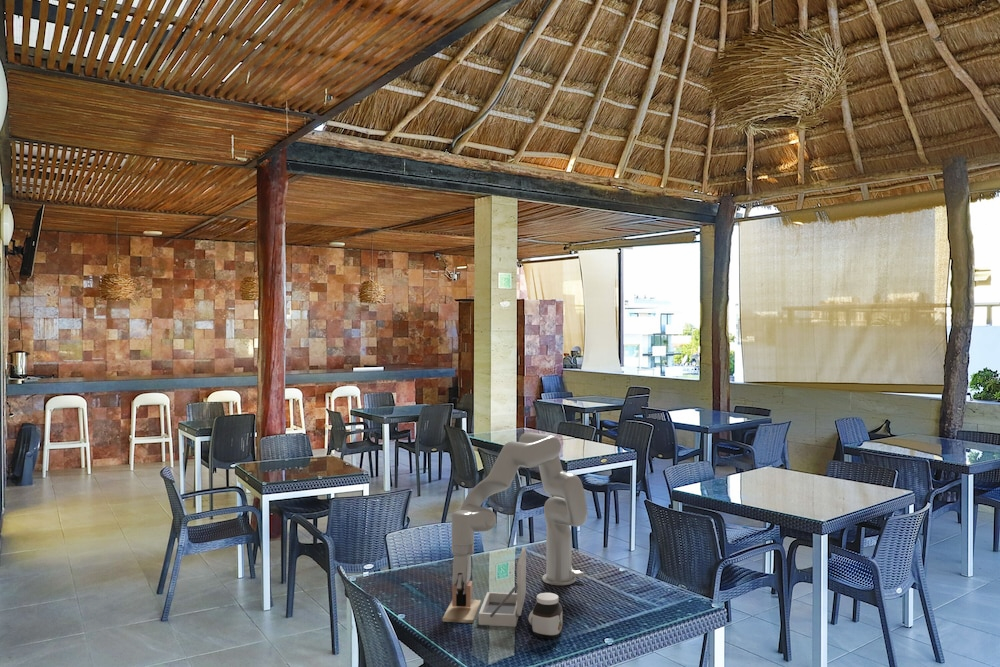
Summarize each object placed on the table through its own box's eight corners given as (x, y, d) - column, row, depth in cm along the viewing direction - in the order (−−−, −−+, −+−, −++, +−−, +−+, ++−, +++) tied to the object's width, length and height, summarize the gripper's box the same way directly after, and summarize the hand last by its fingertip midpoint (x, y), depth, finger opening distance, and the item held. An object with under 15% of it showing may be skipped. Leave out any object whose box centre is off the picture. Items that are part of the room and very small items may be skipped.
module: (472, 601, 239) (472, 581, 239) (470, 607, 234) (470, 586, 234) (455, 601, 239) (455, 580, 239) (452, 606, 234) (452, 585, 234)
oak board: (481, 602, 245) (481, 599, 245) (472, 623, 227) (472, 619, 227) (452, 601, 246) (452, 598, 246) (442, 621, 228) (442, 618, 228)
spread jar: (550, 642, 212) (550, 603, 212) (518, 634, 218) (518, 596, 218) (568, 629, 222) (568, 592, 222) (537, 621, 228) (537, 585, 228)
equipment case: (525, 603, 244) (525, 547, 244) (520, 627, 223) (520, 565, 223) (487, 602, 245) (487, 545, 246) (478, 625, 225) (478, 564, 225)
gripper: (456, 541, 246) (456, 593, 245) (446, 555, 229) (446, 611, 228) (477, 541, 245) (477, 594, 244) (469, 556, 228) (469, 613, 228)
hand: (462, 602), depth 236 cm, fingers closed on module, 5 cm apart
